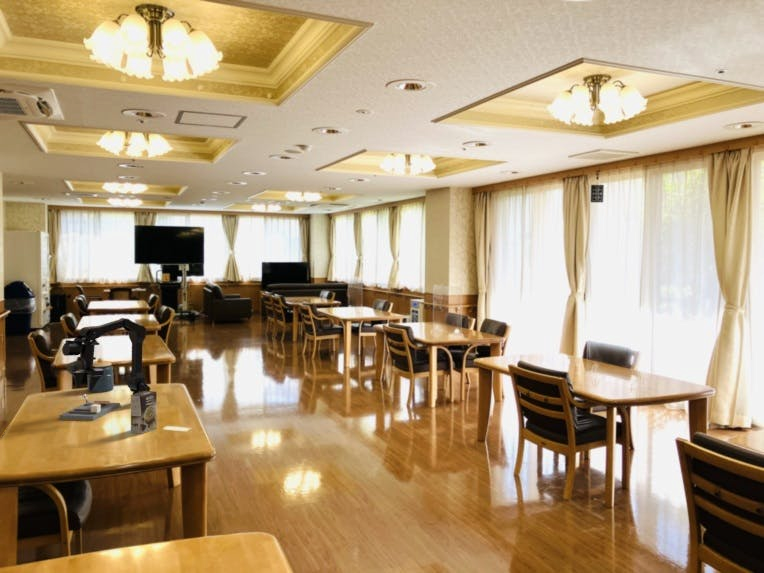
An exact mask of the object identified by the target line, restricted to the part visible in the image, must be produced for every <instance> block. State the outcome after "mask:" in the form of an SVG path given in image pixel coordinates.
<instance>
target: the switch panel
mask: <svg viewBox="0 0 764 573" xmlns="http://www.w3.org/2000/svg"><path fill="white" fill-rule="evenodd" d="M94 404H100V405H101V411H100V412H98V413H97V412H91V406H92V405H94ZM119 408H121V403H120V402H110V403H94V401H88V402H87V403H86V402H85V403H83V404H81V405H78V406H76V407H74V408H72V409H70V410H68V411H66V412H63V413H61V414H59V415H58V416H59V417H58V420H61V419H69V420H68V421H89V422H90V421H92V422H94V421H96V420H98V419H99V418H101V417H103V416H105V415H107V414H109V413H111V412H114V411H116V410H117V409H119Z"/></svg>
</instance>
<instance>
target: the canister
mask: <svg viewBox="0 0 764 573" xmlns="http://www.w3.org/2000/svg"><path fill="white" fill-rule="evenodd" d="M112 365H113V363H112V362H110V361H108V360H104V359H103V358H102V357H99V358H98V359H97V360H96V361H93V366H95V368H100V369H103V370H104V375H102V377H100V379H99V380H98V381H97V383H96V385H95V386H94V388H93V389H92V391H90V390H89V378H88V377H87V376H90V375H88V374H87V375H86V377H87V391H88V392H89V393H106V392H110V391H113V390H114V388H115V384H114V383H115V382H114V366H112ZM87 371H88V370H87Z"/></svg>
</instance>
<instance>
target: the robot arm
mask: <svg viewBox="0 0 764 573" xmlns="http://www.w3.org/2000/svg"><path fill="white" fill-rule="evenodd" d="M120 329H124V331H126V332H128V337H129V340H130V343H131V366H130V367H131V371H130V373H129V375H126V383H125V384H127V387H128V388H129V390H130V392H131V393H132V395H133V394H136V393H139V392H143V391H151V386H149V385H148V384H147V383H146V377H145V375H144V373H143V344H144V341H145V340H146V337H147V328H146V327H145V326H144V325H140V324H138V323H136V322H134V321H132V320H130V319H129V318H124V317H121V318H119V319H115V320H113V321H110V322H107V323H103V324H101V325H93V326H84V327H82V328H81V329H80V330H79V333H78V334H77V335H76V337H75V338H74V339H73V340H71V339H70V340H68V339H67V340H65V343H63V346H62V347H61V352H62V354H63V356H66V357H68V356H69V357H70V356H71V357H72V356H77V357H76V360H75V361H72V362H69V363H67V364H65V365H66V371H67V372H68V373H69V374H70V375H71V376H72V377H73V380H74V383H75V388H77V389H80V387H81V384H82V381H83V377H84V375H85V373H86V374H87V375H90V376H87V375H86V377H87V379H88V378H89V390H90V391H92V389H93V388H94V386H95V385H96V383H97V381H98V380H99V379H100V377H102V375H104V370H103V369H100V368H95V366H93V362H95V360H96V359H97V357H96V356H95V348H96V347H95V346H100V342H99V341H97V340H98V338H101V337H102V336H103V335H104V334H108V333H112V332H113V331H117V330H120ZM96 361H97V360H96ZM87 370H88V371H87Z"/></svg>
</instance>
